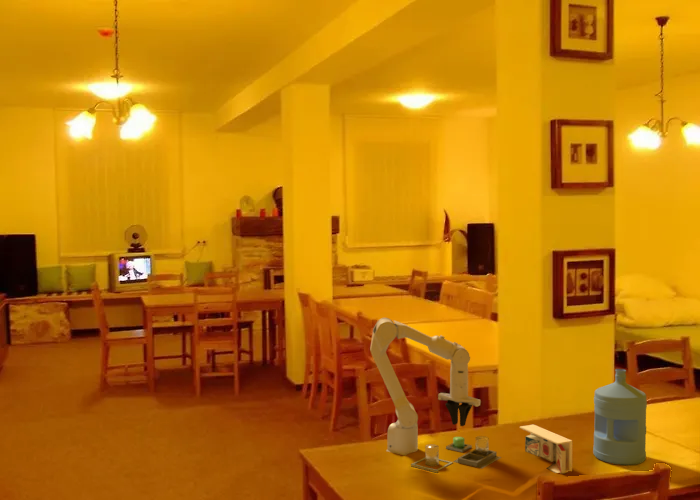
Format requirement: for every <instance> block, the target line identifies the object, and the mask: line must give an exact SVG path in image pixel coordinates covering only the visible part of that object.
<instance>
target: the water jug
mask: <svg viewBox="0 0 700 500" xmlns="http://www.w3.org/2000/svg"><path fill="white" fill-rule="evenodd" d="M614 371H615V375H614V377H615V378H614V379H615V381H614V382H612V383H609V384H607V385H604V386H600V387H598V388H596V389H595V390H594V395H593V396H594V397H593V404H594V405H593V406H594V407H593V408H594V422H593V423H594V425H593V426H594V427H593V428H594V432H593V447H592V448H593V450H592V453H593V455H594V456H595V458H596V459H598V460H599V461H603V462H605V463H608V464H612V463H613V464H614V465H618V464H620V466H634V465H639V464H642V463H643V462H644V461H646V457H647V452H646V442H647V441H646V440H647V439H646V435H647V422H646V421H647V407H648V405H647V404H648V402H647V394H646V393H645V392H644V391H642V390H640V389H638V388H637V387H634V386H633V385H631V384H628V383H627V381H626V380H627V379H626V378H627V375H626V372H627V370H626V369H624V368H616V369H614Z"/></svg>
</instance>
